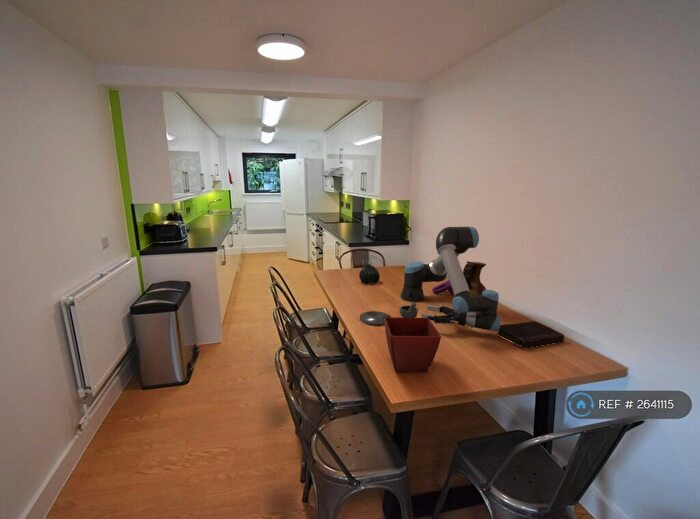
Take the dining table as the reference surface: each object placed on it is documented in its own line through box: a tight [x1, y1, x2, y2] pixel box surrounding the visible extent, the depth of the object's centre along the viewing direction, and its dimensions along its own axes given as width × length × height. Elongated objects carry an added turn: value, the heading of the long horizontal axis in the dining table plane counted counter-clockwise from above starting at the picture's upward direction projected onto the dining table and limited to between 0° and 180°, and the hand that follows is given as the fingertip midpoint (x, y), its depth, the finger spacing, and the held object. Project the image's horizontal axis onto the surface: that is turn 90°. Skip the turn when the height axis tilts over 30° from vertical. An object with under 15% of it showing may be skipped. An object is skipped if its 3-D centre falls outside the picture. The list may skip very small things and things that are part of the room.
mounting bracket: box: [431, 280, 454, 296], centre depth 234 cm, size 9×8×18 cm
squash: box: [358, 263, 381, 285], centre depth 254 cm, size 14×15×15 cm
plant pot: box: [384, 316, 442, 374], centre depth 138 cm, size 19×19×17 cm
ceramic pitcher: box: [453, 260, 487, 313], centre depth 197 cm, size 20×20×30 cm
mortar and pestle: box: [399, 302, 419, 318], centre depth 183 cm, size 11×9×12 cm
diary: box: [497, 320, 565, 350], centre depth 166 cm, size 19×25×5 cm
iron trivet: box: [359, 310, 392, 327], centre depth 186 cm, size 17×17×2 cm
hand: (424, 311), depth 180 cm, fingers open, 13 cm apart
